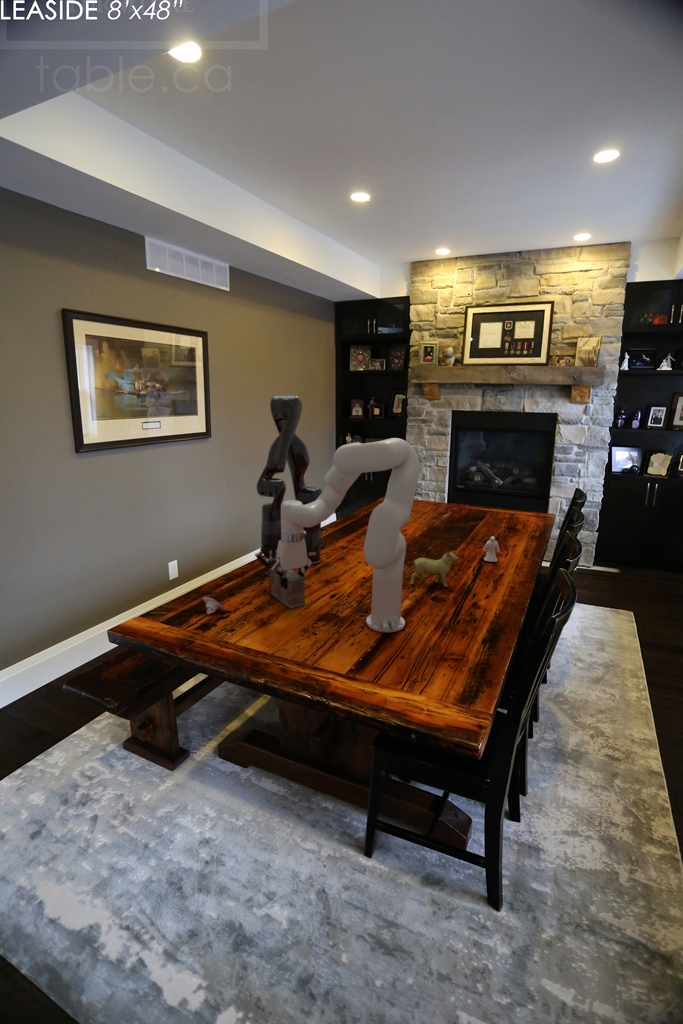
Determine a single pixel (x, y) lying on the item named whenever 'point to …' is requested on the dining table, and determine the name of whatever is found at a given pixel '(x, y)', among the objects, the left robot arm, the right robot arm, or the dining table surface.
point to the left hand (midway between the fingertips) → (271, 575)
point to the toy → (434, 567)
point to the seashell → (212, 605)
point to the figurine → (491, 550)
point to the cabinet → (288, 588)
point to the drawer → (268, 576)
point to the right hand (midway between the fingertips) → (292, 585)
